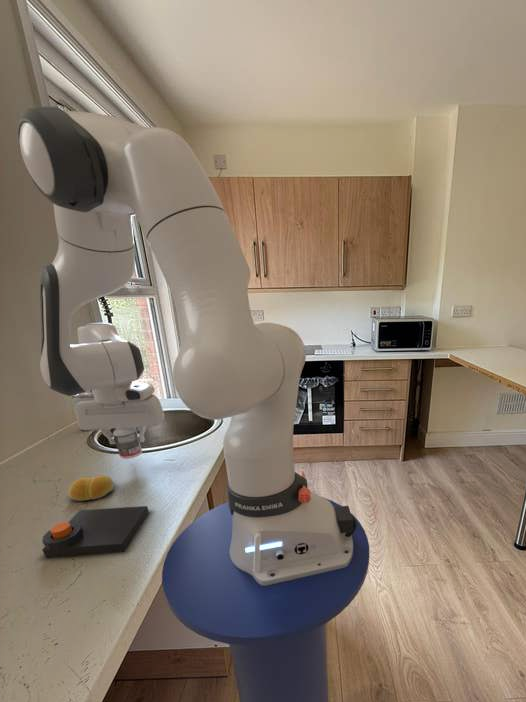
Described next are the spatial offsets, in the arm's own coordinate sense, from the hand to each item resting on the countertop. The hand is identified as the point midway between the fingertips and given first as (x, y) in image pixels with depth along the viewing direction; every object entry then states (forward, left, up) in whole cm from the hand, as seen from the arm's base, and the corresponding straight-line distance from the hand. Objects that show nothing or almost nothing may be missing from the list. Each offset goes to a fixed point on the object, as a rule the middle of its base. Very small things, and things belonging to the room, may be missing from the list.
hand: (128, 442), depth 91 cm
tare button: (0, +30, -5) cm, 31 cm away
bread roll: (+6, +11, -8) cm, 15 cm away
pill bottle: (0, 0, -4) cm, 4 cm away
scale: (-4, +27, -8) cm, 28 cm away
